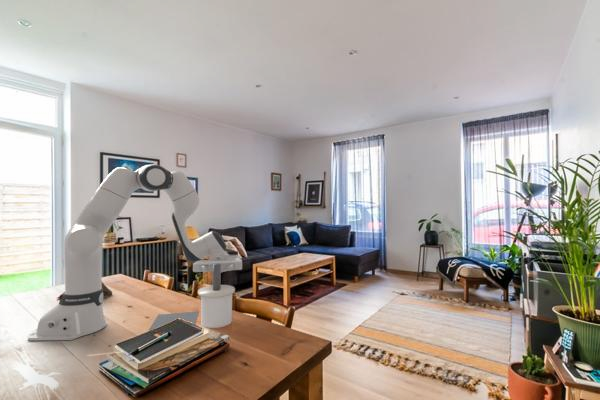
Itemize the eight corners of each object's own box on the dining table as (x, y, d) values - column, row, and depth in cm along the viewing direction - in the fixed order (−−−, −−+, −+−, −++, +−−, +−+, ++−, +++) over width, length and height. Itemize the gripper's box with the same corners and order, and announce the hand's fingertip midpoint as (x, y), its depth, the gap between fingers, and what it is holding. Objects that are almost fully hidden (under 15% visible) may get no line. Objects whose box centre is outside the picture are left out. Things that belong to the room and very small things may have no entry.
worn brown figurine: (90, 306, 141) (81, 271, 138) (83, 304, 144) (75, 270, 140) (114, 294, 151) (107, 261, 148) (108, 293, 154) (101, 260, 151)
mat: (148, 331, 108) (148, 330, 108) (158, 315, 124) (158, 314, 124) (194, 327, 112) (194, 326, 112) (198, 312, 128) (198, 311, 128)
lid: (195, 299, 109) (195, 268, 109) (199, 288, 122) (200, 261, 122) (234, 296, 112) (235, 267, 112) (234, 286, 125) (234, 260, 125)
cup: (208, 331, 109) (208, 298, 109) (196, 322, 117) (196, 291, 117) (237, 323, 116) (237, 292, 116) (223, 314, 125) (223, 286, 125)
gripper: (194, 256, 131) (190, 262, 118) (241, 254, 136) (242, 260, 122) (194, 270, 131) (190, 278, 118) (241, 268, 136) (242, 275, 122)
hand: (217, 269), depth 120 cm, fingers open, 8 cm apart
